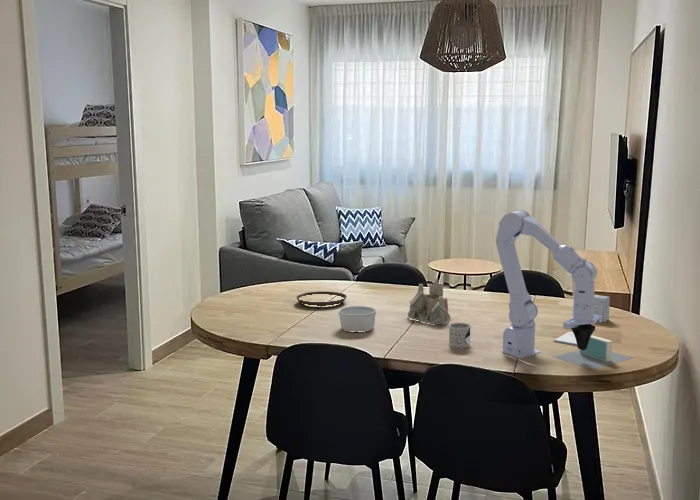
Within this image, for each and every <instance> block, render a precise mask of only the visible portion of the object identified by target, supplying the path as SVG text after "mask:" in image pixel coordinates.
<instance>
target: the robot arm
mask: <svg viewBox="0 0 700 500" xmlns="http://www.w3.org/2000/svg"><path fill="white" fill-rule="evenodd" d="M520 235H525V236H532V237H533V238H534V239H535V240H537V241H538V242H539V243H540V244H542V245H543V246H544V247H545V248H547V249H548V250H549V252H550V251H551V253H552V254H553V255H552V256H553V260H554V261H555V262H556V263H557V264H558V265H560V266H561V267H562V268H563V269H564V270H565V271H566V272H567V273H568V274H569V275H570V274H571V279H572V280H573V282H574V287H573V303H572V304H573V305H572V307H573V310H572V312H573V313H572V317H571V318H570V319H568V320H566V321H563V324H562V325H563V326H562V327H563V328H562V329H564V330H568V331H570V330H571V332H573V333H574V335H575V338H576V342H577V346H576V347H577V349H578V350H580V349H581V350H586V349H587V346H588V342H589V339H590V337H591V335H593V333H594V332H595V330H596V326H595V324H597V323H602V316H601V315H594V295H595V291H596V289H595V279H596V278H597V275H598V270H597V268H596V266H595V265H594V264H593V262H590V261H588V260H587V258H583V257H582V256H581V255H580V254H578V253H577V251H575V247H574V246H572V245H571V246H569V245H568V244H561V243H560V242H559V241H558V240H557V239H556V238H555V237H554V236H553V235H552V234H551V233H550V232H549V231H548V230H547V229H546V228H545V227H544V226H543V225H542V224H541V223H540V222H539V221H538V220H537V219H536V218H535V217H534V216H532V215H531V214H529V212H528V211H526V210H523V209H517V210H515V211H513V212H507V213H506V214H504V215H503V217H502V218H501V219H500V220H499V222H498V229H497V233H496V237H495V245H496V248H497V252H498V255H499V259H500V263H501V267H502V271H503V274H504V278H505V282H506V287H507V290H508V293H509V300H508V301H509V302H508V307H509V313H508V319H509V321H510V326H509V327H507V328H505V329H504V330H503V333H502V349H501V350H500V352H501V353H505V354H507V355H509V356H511V357H515V358H519V359H521V358H525V357H528V356H533V355H537V354H541V351H540V350H537V349H535V346H536V322H535V319H536V318H537V316H538V314H539V313H538V312H539V308H538V307H537V305H536V303H534V301H533V298H532V296H531V294H530V293H529V292H528V290H527V287H526V283H525V279H524V276H523V275H524V274H523V272H522V268H521V264H520V260H519V257H518V253H517V249H516V245H515V242H516V240H517V239H518V238H519V236H520Z"/></svg>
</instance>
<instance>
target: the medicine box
mask: <svg viewBox="0 0 700 500" xmlns="http://www.w3.org/2000/svg"><path fill="white" fill-rule="evenodd" d="M610 299H611V297H610V296H606V295H599V294H594V315H601V316H602V322H603V323H605V322H607V321H609V320H610V303H611V302H610ZM602 322H601V323H602Z"/></svg>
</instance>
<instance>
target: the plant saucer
mask: <svg viewBox="0 0 700 500" xmlns="http://www.w3.org/2000/svg"><path fill="white" fill-rule="evenodd" d="M312 294H329V295H337V296H341V297H343V298H344V299H341V300H337V301H330V302H309V301H303V300H299V298H300V297H302V296H306V295H312ZM346 299H347V294H345V293H343V292H336V291H325V290H324V291H323V290H322V291H321V290H320V291H311V292H310V291H309V292H304V293H300V294H298V295H296V300H297V301H298V303H300V302H301V303H303V304H308V305H317V306H326V305H334V304H339V303H342V302H343V301H344V302H345V300H346ZM344 302H343V303H344ZM301 303H300V304H301ZM343 303H342V304H343Z"/></svg>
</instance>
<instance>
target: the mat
mask: <svg viewBox="0 0 700 500" xmlns="http://www.w3.org/2000/svg"><path fill="white" fill-rule="evenodd" d="M553 357H554V358H557V359H558V360H562V361H565V362H569V363H571V364H574V365H577V366H580V367H583V368H586V369H589V370H591V371H592V370H596V369H599V368H602V367H607V366H610V365H613V364H617V363H620V362H624V361H628V360H631V359H633V357H631V356H628V355H624V354H621V353H617V352H614V351H612V356H611V361H608V362H606V361H603V360H600V359H597V358H593V357H590V356H587V355H584V354H581V353H580V349H578V350H575V351H570V352H567V353H563V354H559V355H555V356H553Z"/></svg>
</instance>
